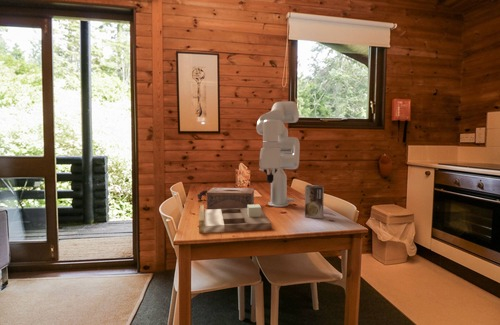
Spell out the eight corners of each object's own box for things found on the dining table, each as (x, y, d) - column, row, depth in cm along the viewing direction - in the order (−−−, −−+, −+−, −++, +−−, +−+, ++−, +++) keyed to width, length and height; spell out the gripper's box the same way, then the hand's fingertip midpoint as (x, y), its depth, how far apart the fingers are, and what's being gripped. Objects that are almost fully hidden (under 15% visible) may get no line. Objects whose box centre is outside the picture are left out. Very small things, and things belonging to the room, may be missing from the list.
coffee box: (323, 215, 148) (324, 185, 146) (322, 218, 142) (323, 187, 140) (306, 213, 151) (306, 184, 149) (304, 217, 145) (305, 186, 143)
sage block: (258, 213, 141) (258, 204, 141) (261, 216, 135) (261, 207, 135) (247, 213, 140) (247, 204, 140) (248, 216, 134) (248, 207, 134)
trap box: (259, 212, 152) (259, 203, 152) (271, 229, 126) (271, 217, 125) (200, 215, 147) (199, 205, 147) (199, 232, 121) (198, 220, 120)
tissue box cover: (253, 204, 172) (253, 188, 171) (251, 210, 158) (251, 193, 157) (212, 203, 175) (212, 187, 174) (207, 209, 160) (206, 192, 159)
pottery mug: (209, 203, 175) (202, 192, 174) (199, 208, 180) (192, 197, 179) (219, 195, 185) (212, 184, 184) (209, 199, 190) (202, 189, 189)
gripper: (283, 145, 141) (282, 181, 142) (254, 145, 138) (253, 181, 140) (287, 145, 133) (286, 183, 135) (256, 145, 131) (256, 184, 133)
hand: (270, 182), depth 138 cm, fingers closed
